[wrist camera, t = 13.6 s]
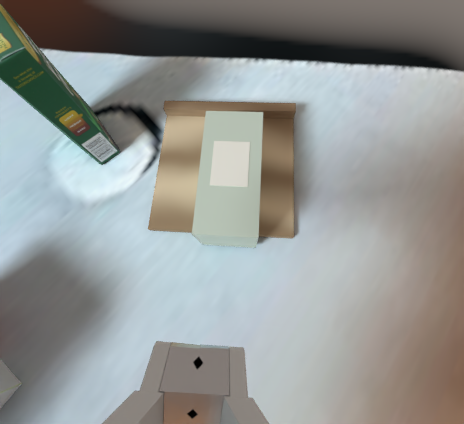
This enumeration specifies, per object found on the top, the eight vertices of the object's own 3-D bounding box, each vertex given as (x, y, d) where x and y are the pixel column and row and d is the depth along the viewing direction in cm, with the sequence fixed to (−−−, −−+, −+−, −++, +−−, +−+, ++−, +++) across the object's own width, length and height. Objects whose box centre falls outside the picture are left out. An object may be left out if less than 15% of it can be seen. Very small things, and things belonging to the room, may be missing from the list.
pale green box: (258, 237, 18) (263, 111, 21) (191, 233, 19) (205, 110, 22) (255, 247, 23) (259, 143, 26) (202, 244, 23) (213, 142, 27)
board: (292, 238, 24) (296, 234, 22) (150, 230, 25) (143, 226, 23) (292, 114, 28) (295, 103, 26) (169, 111, 29) (164, 100, 27)
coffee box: (125, 153, 27) (23, 42, 15) (102, 168, 27) (-22, 66, 14) (91, 106, 29) (-23, -27, 17) (70, 119, 29) (-63, -7, 16)
